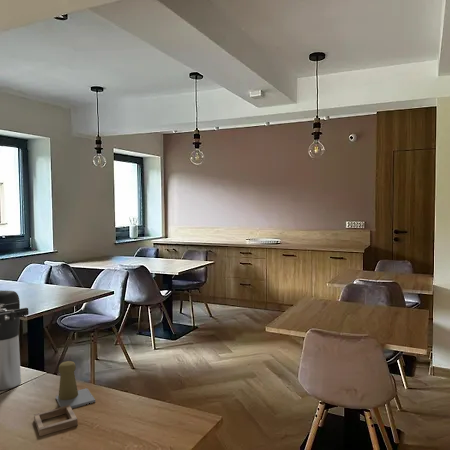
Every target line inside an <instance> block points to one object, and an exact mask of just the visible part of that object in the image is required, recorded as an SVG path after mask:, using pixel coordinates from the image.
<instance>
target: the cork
mask: <svg viewBox="0 0 450 450" xmlns="http://www.w3.org/2000/svg"><path fill="white" fill-rule="evenodd" d="M76 369H77V368H76V363H75V362H74V361H71V360H67V361H63V362H61V363H60V364H59V366H58V372H59V374H60V378H59V388H58V389H59V390H58V395H59V399H61V400H70V399H73V398H75V397H77V396H78V390H79V389H78V385H77V380H76V375H75V371H76Z"/></svg>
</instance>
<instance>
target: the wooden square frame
mask: <svg viewBox="0 0 450 450" xmlns="http://www.w3.org/2000/svg"><path fill="white" fill-rule="evenodd" d="M62 415H67V418H68V419H65V420H61V421H58V422H54V423H51V424H47V425H45V426H44V424H43V422H42V421H44V420H48V419H51V418H55V417H59V416H62ZM33 420H34V424H35V426H36V428H37V432H38V435H39V437H42V436H45V435H48V434H51V433H52V434H53V433H55V432H59V431H63V430H65V429H69V428H73V427H76V426H79V425H78V421H79V420H78V417H77V416H76V414H75V412H74V410H73V408H71V407H70V405H67V406H64V407H60V406H59V407H57V408H53V409H52V408H51V409H49V410H45V411H40V412H37V413H35V414H33Z"/></svg>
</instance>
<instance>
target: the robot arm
mask: <svg viewBox="0 0 450 450" xmlns="http://www.w3.org/2000/svg"><path fill="white" fill-rule="evenodd" d="M20 306H21V304H20V296H19V294H18V293H17V292H16V291H15V290H0V391H3V390H9V389H13V388H15V387H17V386H19V385H20V384H21V383H22V378H21V377H22V375H21V355H20V341H19V328H20V324H21V323H20V322H21V321H20V320H21V317H27V316H29V313H30V311H29V307H20Z"/></svg>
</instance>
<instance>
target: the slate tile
mask: <svg viewBox="0 0 450 450" xmlns="http://www.w3.org/2000/svg"><path fill="white" fill-rule="evenodd" d="M77 390H78V396H77V397H75V398H73V399H70V400H61V399H59V394H58V395H55V399H56V401H57V402H56V403H58V405H59V408H60V407H64V406H67V405H70V407H71V408H72V409H77V408H79V407H82V406H86V404H87V405H90V404H94V403H96V399H95V397H94V395H92V393H91V391H90V390H89V388H88V387H86V388H82V389H77ZM93 402H94V403H93ZM89 403H90V404H89Z"/></svg>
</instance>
